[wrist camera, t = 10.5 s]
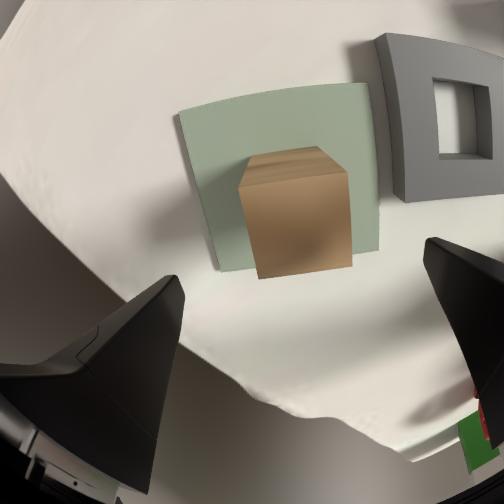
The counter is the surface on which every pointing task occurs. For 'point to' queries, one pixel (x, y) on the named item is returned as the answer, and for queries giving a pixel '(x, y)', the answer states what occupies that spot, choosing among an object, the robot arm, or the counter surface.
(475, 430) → the hardback book
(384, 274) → the counter surface
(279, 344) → the counter surface
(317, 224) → the oak block
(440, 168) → the charcoal holder
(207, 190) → the rubber mat
